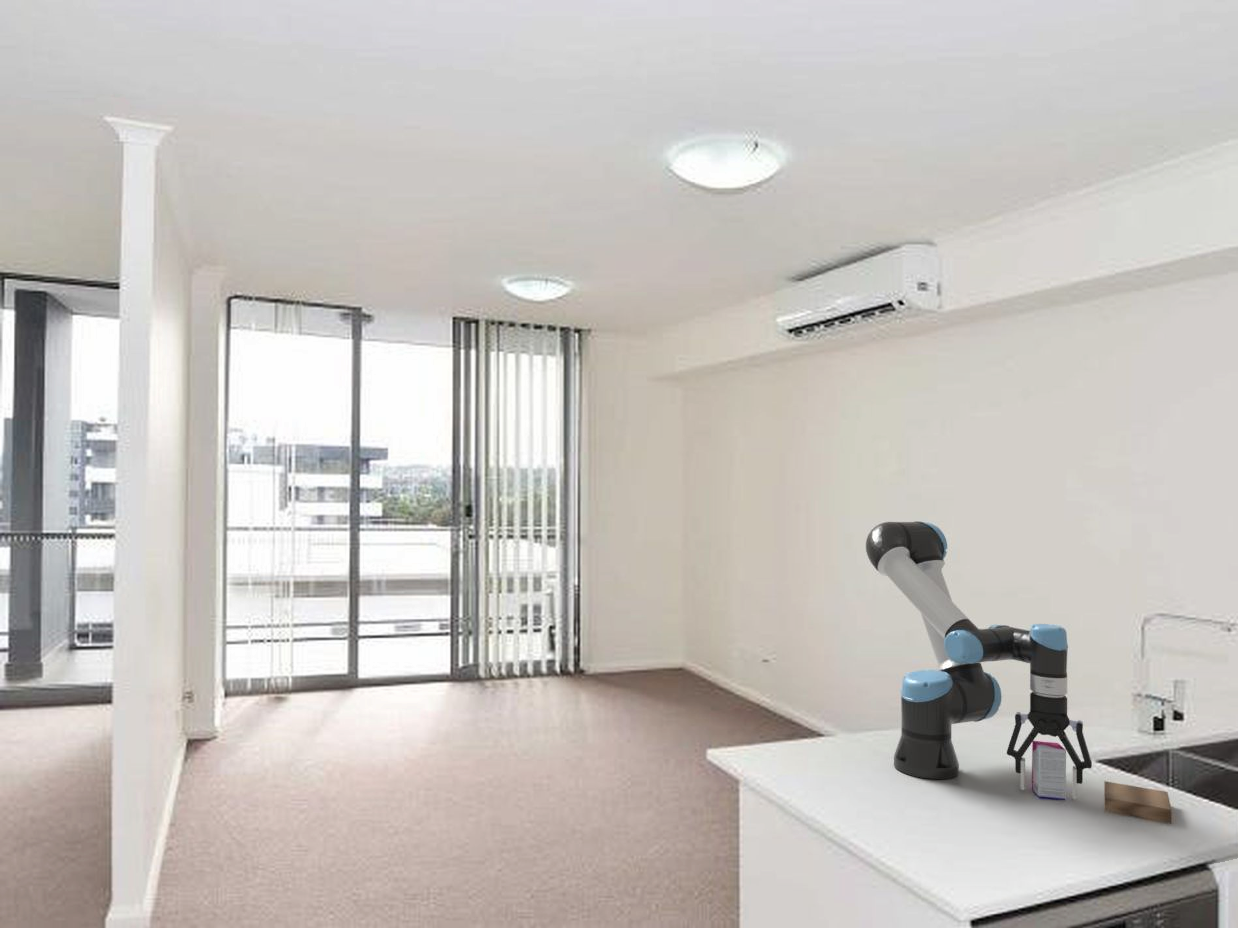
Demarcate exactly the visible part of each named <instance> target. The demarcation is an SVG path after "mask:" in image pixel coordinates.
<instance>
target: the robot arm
mask: <svg viewBox="0 0 1238 928" xmlns="http://www.w3.org/2000/svg"><path fill="white" fill-rule="evenodd" d="M946 550H948V542H947V538H946V536H945V534H944V533H943V531H942V530H941V529H940V528H939V527H938V526H937V525H935V524H933V523H930V522H924V521H915V520H914V521H885V522H882V523H879V524H876V525H875V526H874V527H873V528H872V529H871V530H870V531H869V533H868V535H867V537H866V541H865V552H866V555H867V558H868V560H869V562H870V563H871V565H872V566H873V567H874V569H875V570H876V571H877V572H878V573H879V574H880V575H882V576H885V577H886V576H887V577H888V578H889V580H890V581H892V582H893V584H894V585H895V586H896V587H897V588H898V590H900V591H901V592H902V594H903V595H904V596H905V597H906V598H907V599H908V601H910V602H911V603H912V605H913V606H914V607H915V608H916V609H917V610H918V612H919V613H920V615H921V617H922V620H923V621H922V622H923V625H924V627H925V630H926V633H927V636H928V639H929V641H930V645H931V647H932V651H933V653H934V656H935V659H936V661H937V667H936V669H928V670H925V669H921V670H915V671H912V672H909V673H906V675H905V676H903V677H902V682H901V688H900V689H901V690H900V697H901V698H900V699H901V702H900V703H901V711H900V712H901V731H900V733H901V735H900V738H899V741H898V742H897V743H898V744H897V746H896V749H895V752H894V755H893V766H894V768H895V769H896V770H897V771H899V772H901V773H904V774H907V775H909V776H912V777H916V778H922V779H929V780H948V779H953V778H957V777H958V776H959V774H960V763H959V761H958V757H957V753H956V751H955V748H954V745H953V740H952V725H955V724H961V723H962V724H963V723H968V722H974V723H977V722H981V721H984V720H988V719H991V718H992V717H994V716H995V715H996V714H997V712H998V711H999V708H1000V706H1001V703H1002V697H1003V696H1002V690H1001V687H1000V685H999V684H1000V683H999V682H998V680H997V679H996V678H995V676H992V675H991V674H990V673H987V672H985V671H984V669H983V665H982V663H985V662H986V663H987V662H998V661H1010V660H1013V661H1018V662H1023V663H1026V664H1029V672H1030V673H1029V675H1030V676H1029V677H1030V678H1029V679H1030V681H1029V687H1030V688H1029V689H1030V691H1031V693H1030V694H1029V700H1030V701H1029V712H1028V713H1021V712H1019V711H1017V712H1016V713H1015V715H1014V720H1015V721H1014V722H1015V725H1014V728H1013V731H1012V734H1011V738H1010V741H1009V743H1008V748H1007V750H1006V755H1007V756H1010V757H1012V758H1014V760H1015V761H1014V762H1015V763H1014V764H1015V766H1014V767H1015V769H1014V770H1015V773H1016V774H1020V790H1021V791H1022V790H1023V791H1024V790H1025V788H1026V757H1023V756H1024V755H1025V753H1027V750H1028V749H1029V747H1030V746H1031V745H1032V742H1033V741H1035V739H1036V737H1037V736H1038V734H1040V735H1041V736H1050V737H1053V738H1054V737H1057V738H1059V740H1060V742H1061V743H1062V746H1064V747H1063V748H1064V749H1065V750H1066V753H1068V755H1069V757H1070V759H1071V761H1072V763H1073V765H1072V800H1077V795H1078V793H1077V792H1078V789H1077V787H1078V785H1077V784H1080V785H1082V784H1083V781H1084V780H1083V779H1084V778H1083V775H1084V773H1083V771H1084V770H1085V769H1092V768H1093V767H1092V766H1093V762H1092V758H1091V755H1090V751H1089V749H1088V745H1087V743H1086V739H1085V736H1084V732H1083V730H1084V729H1083V728H1084V723H1083V721H1082V720H1072V719H1070V717H1069V716H1068V697H1067V696H1066V695H1067V694H1068V672H1067V669H1068V649H1069V646H1068V634H1067V630H1066V628H1064V627H1063V626H1060V625H1056V624H1050V623H1049V624H1048V623H1047V624H1046V623H1033V624H1032V625H1030V629H1029V630H1027V629H1022V628H1017V627H1011V626H1010V625H1005V624H1004V625H1003V624H1000V625H999V624H993V625H989V627H987V628H978V627H977V626H976V625H975V624H974V623H973V622H972V621H971V620H970V618H969V617H968V616H967V615H966V614H965V613H964V612H963V610H961V609H960V608H959V607H958V606H957V605H956V603H954V602H953V600H952V597H951V593H950V591H949V589H948V585H947V583H946V580H945V576H944V574H943V572H942V569H943V568H944V566H945V565H946V564H945V563H946V562H945V560H944V559H945V557H946V556H947V551H946ZM1026 721H1028V722H1029V723H1030V724H1031V726H1032V729H1031V731H1030V732H1029V734H1028V735H1027V737H1025V740H1024V741H1023V743H1022V744H1021V745H1020V747H1019V748H1018V750H1016V749H1015V747H1016V743H1017V741H1018V737H1019V734H1020V730H1021V728H1022V725H1024V724H1025V723H1026ZM1069 726H1070V727H1071V729H1072V731H1073V732H1075V735H1076V739H1077V742H1078V746H1079V748H1080V752H1081V755H1082V758H1083V759H1082V760H1081V758H1080V757H1079V755H1078V754H1077V752H1076V750H1075V748H1074V746H1073V745H1072V743H1071V741H1070V739H1069V738H1068V735H1067V734H1066V732H1065V730H1066V729H1067V728H1068V727H1069Z"/></svg>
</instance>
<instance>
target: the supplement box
mask: <svg viewBox="0 0 1238 928" xmlns="http://www.w3.org/2000/svg"><path fill="white" fill-rule="evenodd" d="M1031 747H1032V749H1031V787H1030V788H1031V792H1033V794H1034V795H1035V796H1036V797H1037V798H1038V799H1039V800H1050V801H1051V800H1052V801H1061V802H1065V801H1066V797H1067V794H1066V791H1067V790H1066V784H1067V781H1066V780H1067V750H1066V749H1065V747H1063V745H1061V744H1060V743H1058V742H1052V741H1051V742H1050V741H1049V742H1048V741H1041V740H1040V741H1039V740H1038V741H1037V740H1033V742H1032V743H1031Z"/></svg>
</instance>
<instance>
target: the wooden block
mask: <svg viewBox="0 0 1238 928" xmlns="http://www.w3.org/2000/svg"><path fill="white" fill-rule="evenodd" d="M1103 792H1104V795H1103V796H1104V812H1105V813H1109V814H1115V815H1120V816H1125V817H1132V818H1136V819H1137V818H1138V819H1142V820H1147V821H1152V822H1153V821H1154V822H1158V823H1164V824H1168V825H1172V823H1173V822H1172V820H1173V819H1172V812H1173V811H1172V810H1173V809H1172V806H1171V802H1170V797H1169V793H1168V791H1165V790H1159V789H1152V788H1148V787H1147V788H1146V787H1141V786H1136V785H1128V784H1123V783H1117V782H1111V781H1107V780H1106V781H1105V780H1104V790H1103Z"/></svg>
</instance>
